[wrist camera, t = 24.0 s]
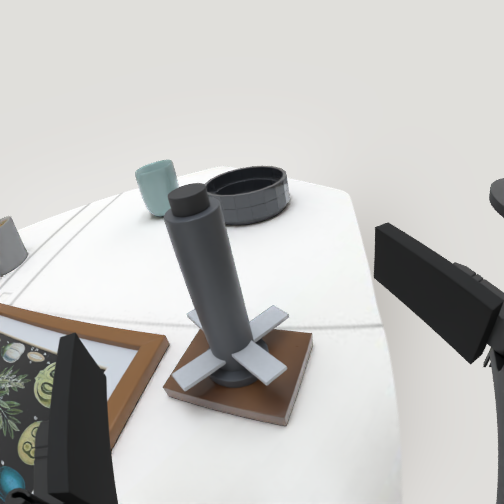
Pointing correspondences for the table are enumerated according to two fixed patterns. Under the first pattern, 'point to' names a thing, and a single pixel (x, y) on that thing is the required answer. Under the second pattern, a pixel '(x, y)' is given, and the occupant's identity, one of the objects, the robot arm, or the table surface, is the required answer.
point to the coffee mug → (10, 246)
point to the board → (256, 394)
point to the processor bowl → (250, 193)
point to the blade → (217, 296)
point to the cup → (157, 185)
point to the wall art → (42, 373)
